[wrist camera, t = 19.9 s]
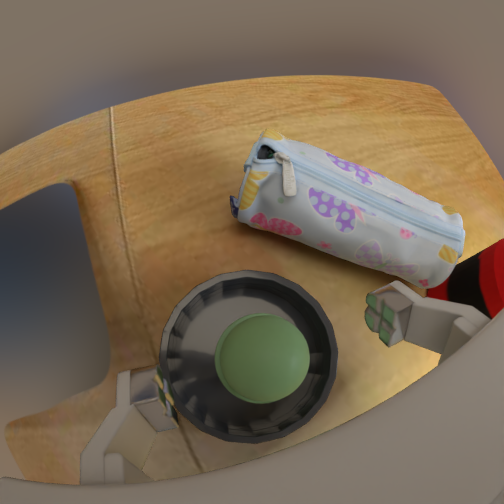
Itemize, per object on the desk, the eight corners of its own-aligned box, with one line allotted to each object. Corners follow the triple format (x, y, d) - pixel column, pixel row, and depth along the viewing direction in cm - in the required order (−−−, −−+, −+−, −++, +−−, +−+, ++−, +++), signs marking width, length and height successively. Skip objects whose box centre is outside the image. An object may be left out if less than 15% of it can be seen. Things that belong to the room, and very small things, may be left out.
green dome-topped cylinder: (236, 397, 21) (250, 435, 10) (206, 346, 23) (190, 335, 11) (288, 368, 23) (347, 374, 11) (258, 318, 24) (291, 281, 13)
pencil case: (224, 231, 27) (226, 171, 18) (255, 165, 30) (267, 98, 22) (412, 302, 26) (474, 277, 18) (420, 233, 30) (470, 194, 21)
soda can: (432, 345, 25) (517, 325, 14) (417, 279, 27) (495, 235, 16) (471, 327, 26) (546, 303, 15) (458, 269, 29) (526, 230, 17)
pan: (218, 454, 20) (217, 470, 16) (144, 325, 23) (130, 318, 20) (345, 379, 23) (365, 381, 19) (273, 259, 27) (281, 242, 23)
